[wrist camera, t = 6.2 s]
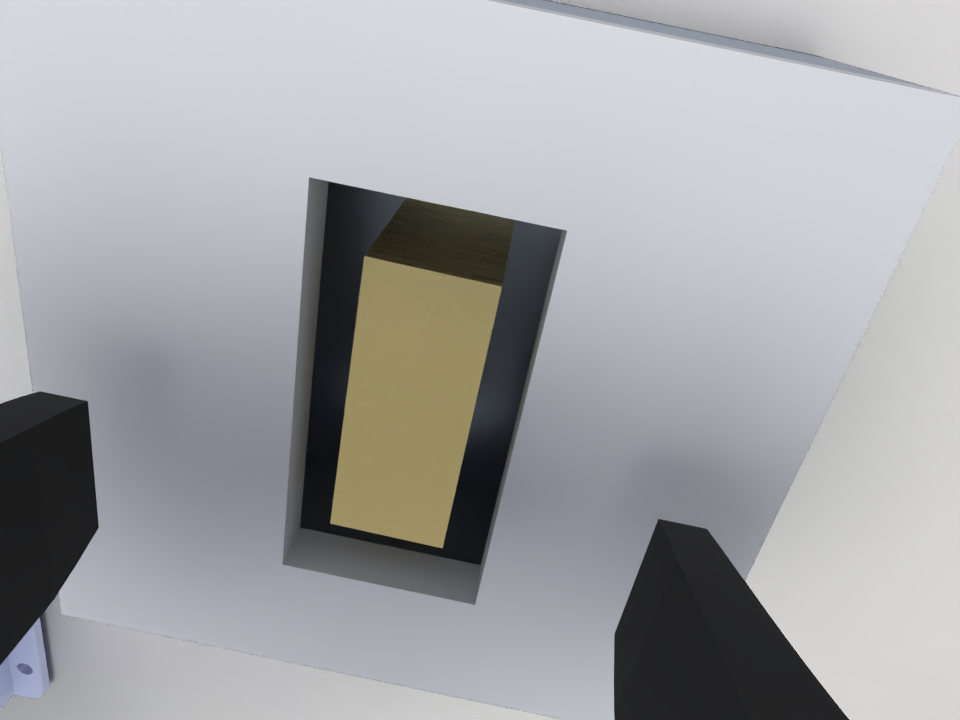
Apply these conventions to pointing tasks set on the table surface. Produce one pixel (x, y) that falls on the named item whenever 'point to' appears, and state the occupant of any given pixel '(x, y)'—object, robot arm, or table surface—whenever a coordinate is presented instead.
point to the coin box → (517, 326)
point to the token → (417, 368)
